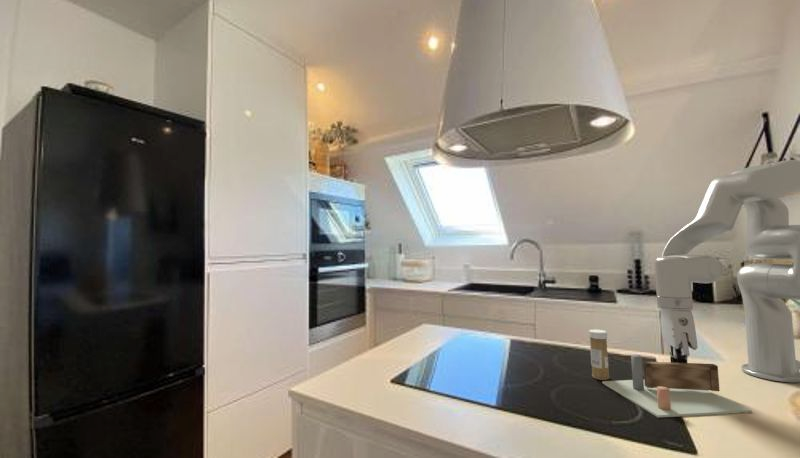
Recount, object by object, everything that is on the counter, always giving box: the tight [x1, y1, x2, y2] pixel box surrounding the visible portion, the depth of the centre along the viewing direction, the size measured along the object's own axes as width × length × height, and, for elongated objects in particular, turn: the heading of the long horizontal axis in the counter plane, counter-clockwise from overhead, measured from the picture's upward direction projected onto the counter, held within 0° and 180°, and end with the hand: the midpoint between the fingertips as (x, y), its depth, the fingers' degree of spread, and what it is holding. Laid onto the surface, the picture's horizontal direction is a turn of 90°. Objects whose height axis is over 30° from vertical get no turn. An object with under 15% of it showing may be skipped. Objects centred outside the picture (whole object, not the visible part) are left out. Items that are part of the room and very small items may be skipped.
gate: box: [642, 360, 720, 392], centre depth 91 cm, size 16×2×6 cm, turn 78°
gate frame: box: [601, 354, 753, 419], centre depth 89 cm, size 22×20×9 cm
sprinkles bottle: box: [588, 329, 611, 381], centre depth 103 cm, size 5×5×13 cm
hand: (679, 372), depth 94 cm, fingers closed
